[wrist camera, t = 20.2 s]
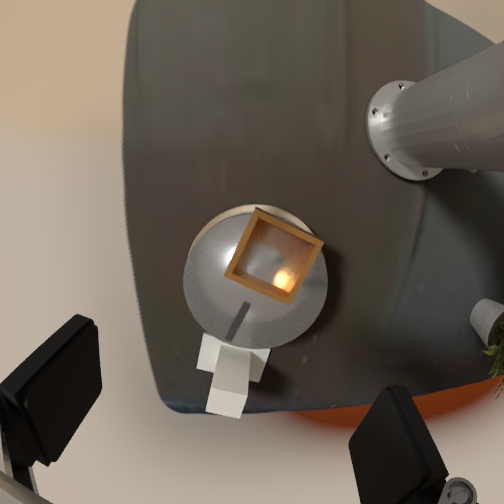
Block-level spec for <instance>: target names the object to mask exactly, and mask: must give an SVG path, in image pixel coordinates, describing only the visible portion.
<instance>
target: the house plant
mask: <svg viewBox="0 0 504 504" xmlns="http://www.w3.org/2000/svg"><path fill="white" fill-rule="evenodd" d="M470 323H471V325H472V327H473V328H474V329H475V331H476V332H477V333H478V335H479V336H480V338H481V339H482V340H483V342H484V343H485V345H486V346H487V348H488V349H489V350H487V351H484V352H485V353H486V354H487V355H494V354H496V353H497V352H498V356H497V358H496V361H495V363H494V365H493V367H492V369H491V371H490V372H489V373H492V372H494V371H495V373H494V375H493V377H492V378H494V376H495V375H498V374H500V373H501V372H502V371H503V370H504V361H503V364H502V366H501V368H500V370H499V371H498V368H499V365H500V363H501V359H502V355H503V345H504V305H503V304H500V303H497V302H495V301H492V300H490V299H482V300H480V301H479V302H478V303H477V304H476V305H475V306H474V308H473V310H472V312H471V315H470ZM497 371H498V372H497ZM489 373H488V374H489ZM496 373H497V374H496ZM492 378H491V379H492ZM503 383H504V379H503V381H502V383H501V384H500V385H499V387H500V386H501V385H502V384H503ZM499 387H498V389H499ZM498 389H497V390H498ZM503 389H504V385H503V388H502V389H501V391H500V392H499V394H498V396H499V395H500V394H501V392H502V391H503ZM498 396H497V397H498Z"/></svg>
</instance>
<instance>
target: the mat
mask: <svg viewBox="0 0 504 504" xmlns="http://www.w3.org/2000/svg"><path fill="white" fill-rule="evenodd" d="M221 344H222V345H227V346H231V347H235V348H240V347H236V346H232V345H230V344H227V343H225V342H222V341H220V340H218V339H217V338H215V337H214V336H212V335H211V334H208V333H204V334H203V339H202V344H201V349H200V354H199V359H198V364H197V368H198V369H201V370H205V371H209V372H213V373H214V372H215V367H216V363H217V359H218V355H219V351H220V346H221ZM240 349H244V350H249V351H251V352H250V367H249V381H254V382H259V381H260V378H261V375H262V373H263V370H264V367H265V364H266V361H267V358H268V355H269V353H270V348H267V349H245V348H240Z"/></svg>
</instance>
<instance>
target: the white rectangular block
mask: <svg viewBox="0 0 504 504" xmlns="http://www.w3.org/2000/svg"><path fill="white" fill-rule="evenodd" d="M250 352H251V351H249V350H244V349H240V348H235V347H231V346H227V345H222V344H221V346H220V351H219V355H218V359H217V363H216V367H215V372H214V376H213V380H212V385H211V389H210V394H209V398H208V402H207V407H206V411H207V412H211V413H215V414H220V415H224V416H229V417H235V418H240V416H241V413H242V410H243V408H244V405H245V402H246V399H247V396H248V382H249V367H250Z"/></svg>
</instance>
